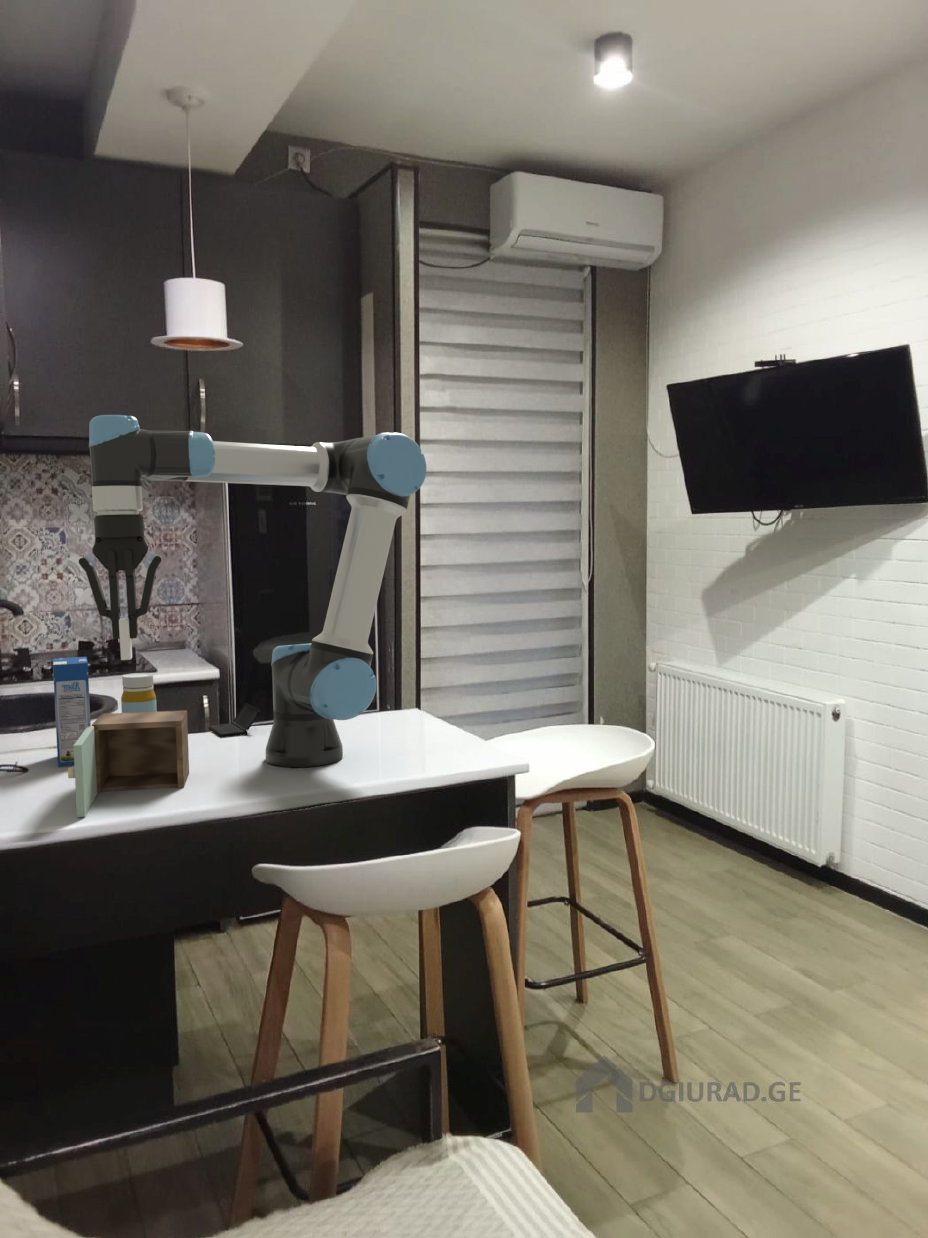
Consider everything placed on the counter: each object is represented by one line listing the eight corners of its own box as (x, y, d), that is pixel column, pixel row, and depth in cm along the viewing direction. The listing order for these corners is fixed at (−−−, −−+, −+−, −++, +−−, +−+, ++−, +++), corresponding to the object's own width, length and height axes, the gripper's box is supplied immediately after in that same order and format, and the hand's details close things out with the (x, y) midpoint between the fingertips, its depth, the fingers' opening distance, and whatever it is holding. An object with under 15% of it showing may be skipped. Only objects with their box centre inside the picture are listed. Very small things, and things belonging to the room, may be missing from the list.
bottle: (139, 750, 199) (136, 678, 197) (116, 746, 202) (112, 676, 201) (164, 743, 205) (162, 674, 203) (142, 740, 208) (139, 671, 207)
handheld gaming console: (199, 723, 218) (225, 687, 220) (222, 738, 222) (248, 703, 224) (220, 739, 209) (247, 701, 211) (244, 754, 213) (270, 717, 216)
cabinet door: (85, 816, 152) (81, 745, 151) (68, 817, 152) (65, 746, 151) (97, 791, 167) (94, 726, 166) (83, 792, 166) (80, 726, 165)
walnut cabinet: (189, 773, 180) (186, 710, 178) (183, 787, 170) (181, 720, 169) (105, 777, 177) (102, 713, 176) (94, 792, 167) (91, 724, 166)
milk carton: (92, 763, 187) (87, 662, 186) (58, 767, 185) (52, 664, 183) (91, 753, 197) (86, 656, 195) (58, 756, 194) (53, 658, 192)
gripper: (162, 513, 159) (169, 653, 162) (79, 514, 156) (87, 657, 159) (159, 512, 152) (166, 659, 154) (71, 514, 149) (80, 664, 151)
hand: (126, 658), depth 156 cm, fingers closed
